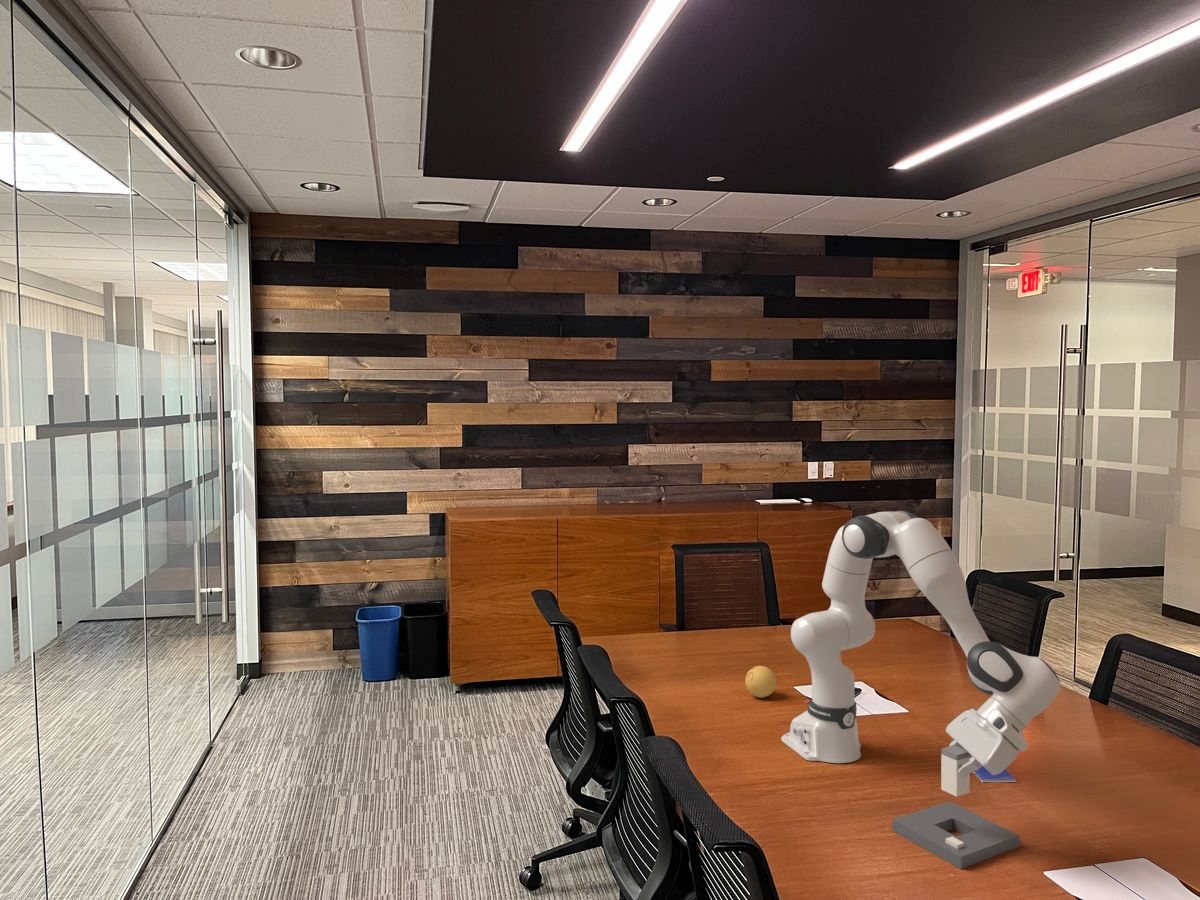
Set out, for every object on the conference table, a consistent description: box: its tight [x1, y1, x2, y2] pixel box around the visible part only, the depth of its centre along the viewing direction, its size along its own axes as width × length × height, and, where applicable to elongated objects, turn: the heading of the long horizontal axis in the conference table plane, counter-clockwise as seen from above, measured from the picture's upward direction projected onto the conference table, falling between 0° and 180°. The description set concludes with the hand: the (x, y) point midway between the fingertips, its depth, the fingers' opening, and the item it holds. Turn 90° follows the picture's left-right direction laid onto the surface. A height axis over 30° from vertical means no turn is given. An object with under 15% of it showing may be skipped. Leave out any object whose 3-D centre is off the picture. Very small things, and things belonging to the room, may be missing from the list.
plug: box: [940, 745, 971, 798], centre depth 184 cm, size 4×4×9 cm
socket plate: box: [892, 800, 1021, 870], centre depth 184 cm, size 18×18×3 cm
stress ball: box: [744, 665, 777, 699], centre depth 275 cm, size 10×10×10 cm
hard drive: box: [973, 766, 1017, 783], centre depth 217 cm, size 2×8×12 cm
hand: (952, 767), depth 184 cm, fingers closed on plug, 5 cm apart
